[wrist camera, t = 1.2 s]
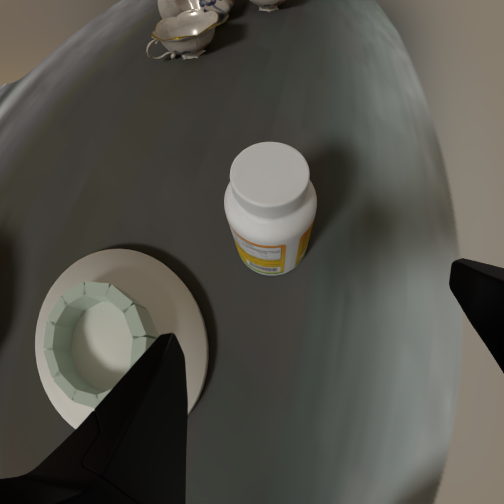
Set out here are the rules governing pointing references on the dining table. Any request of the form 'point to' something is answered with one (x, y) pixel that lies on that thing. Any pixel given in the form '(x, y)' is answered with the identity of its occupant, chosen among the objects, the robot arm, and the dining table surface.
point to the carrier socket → (113, 328)
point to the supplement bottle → (270, 207)
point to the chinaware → (194, 24)
